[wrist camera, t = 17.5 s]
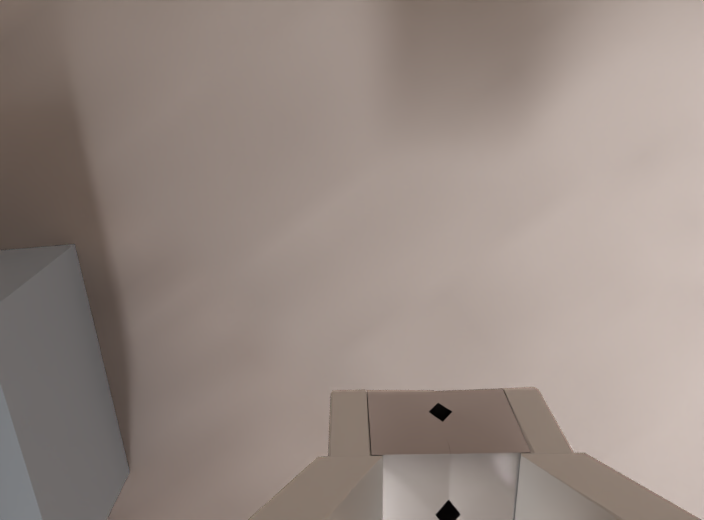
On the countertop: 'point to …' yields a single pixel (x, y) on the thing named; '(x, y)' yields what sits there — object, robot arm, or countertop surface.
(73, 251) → the slate block
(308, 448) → the countertop surface
